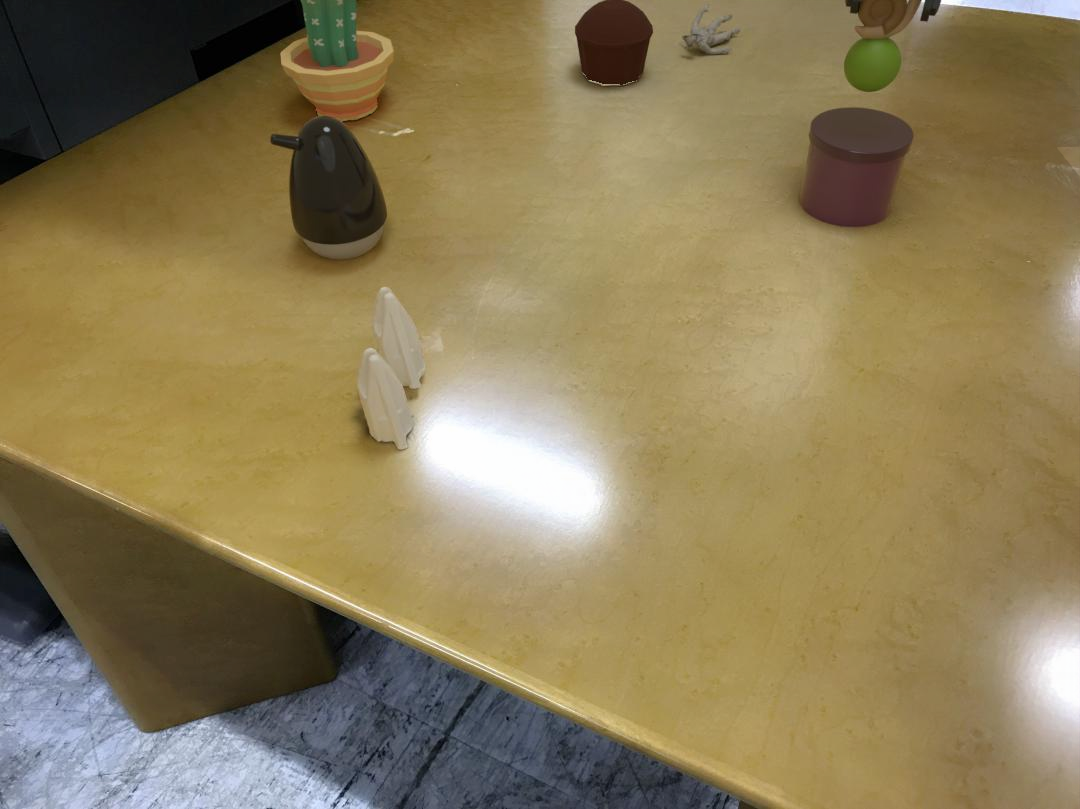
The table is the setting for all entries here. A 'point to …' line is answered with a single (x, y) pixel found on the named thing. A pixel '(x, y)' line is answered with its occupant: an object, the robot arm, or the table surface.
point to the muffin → (613, 42)
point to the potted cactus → (337, 60)
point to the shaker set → (390, 371)
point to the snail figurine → (878, 43)
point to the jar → (853, 165)
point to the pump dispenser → (333, 190)
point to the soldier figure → (709, 34)
